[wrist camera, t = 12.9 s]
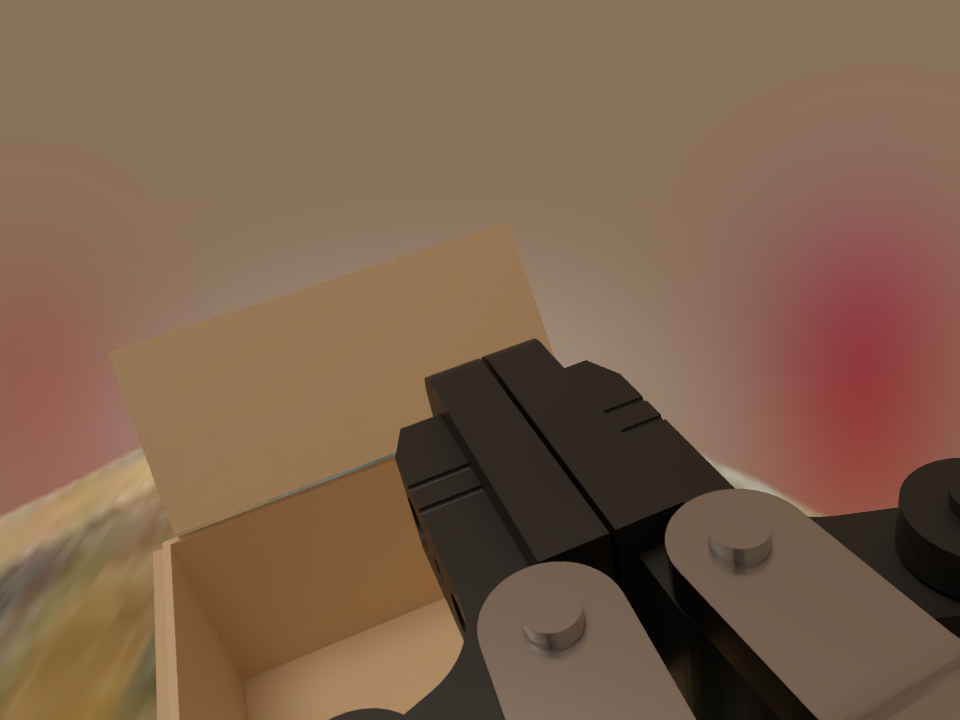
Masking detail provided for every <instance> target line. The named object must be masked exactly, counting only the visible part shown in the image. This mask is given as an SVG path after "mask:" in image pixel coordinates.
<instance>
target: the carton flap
mask: <svg viewBox="0 0 960 720" xmlns="http://www.w3.org/2000/svg"><path fill="white" fill-rule="evenodd" d="M533 338H535V339H537V340H539V341H540V342H541V343H542V344H543V345H544V346H545V347H546V349H547V350H548V351H549V352H550V353H551V354H552V355H553V352H552V349H551V346H550V343H549V340H548V337H547V334H546V332H545V329H544V326H543V323H542V320H541V317H540V314H539V311H538V308H537V306H536V302H535V300H534V297H533V294H532V291H531V288H530V285H529V282H528V279H527V276H526V273H525V271H524V268H523V265H522V262H521V259H520V256H519V253H518V250H517V247H516V244H515V242H514V239H513V236H512V233H511V230H510V227H509V224H508V223H505V224H502V225H499V226H496V227H493V228H490V229H487V230H483V231H480V232H477V233H474V234H471V235H468V236H465V237H462V238H459V239H456V240H453V241H450V242H446V243H443V244H440V245H437V246H434V247H431V248H428V249H425V250H422V251H419V252H416V253H413V254H409V255H406V256H404V257H400V258H397V259H394V260H391V261H388V262H385V263H382V264H379V265H376V266H373V267H369V268H366V269H363V270H360V271H357V272H354V273H351V274H348V275H345V276H342V277H339V278H336V279H332V280H329V281H326V282H323V283H320V284H317V285H314V286H311V287H308V288H305V289H302V290H299V291H295V292H293V293H289V294H286V295H283V296H280V297H277V298H274V299H271V300H268V301H265V302H262V303H258V304H255V305H252V306H249V307H246V308H243V309H240V310H237V311H234V312H231V313H228V314H225V315H221V316H218V317H215V318H212V319H209V320H206V321H203V322H200V323H197V324H194V325H191V326H188V327H185V328H182V329H178V330H175V331H173V332H169V333H166V334H163V335H160V336H157V337H154V338H151V339H148V340H144V341H141V342H138V343H135V344H132V345H129V346H126V347H123V348H120V349H117V350H114V351H111V352H108V355H109V357H110V360H111V363H112V366H113V368H114V371H115V374H116V377H117V379H118V382H119V385H120V387H121V390H122V393H123V395H124V398H125V401H126V404H127V407H128V409H129V412H130V415H131V417H132V420H133V423H134V426H135V428H136V431H137V434H138V437H139V440H140V442H141V445H142V448H143V450H144V453H145V456H146V459H147V461H148V464H149V467H150V470H151V472H152V475H153V478H154V481H155V483H156V486H157V489H158V492H159V494H160V497H161V500H162V503H163V505H164V508H165V511H166V514H167V516H168V519H169V522H170V524H171V527H172V530H173V533H174V535H175V534H177V533H180V532H183V531H185V530H188V529H191V528H193V527H196V526H199V525H202V524H204V523H207V522H210V521H212V520H215V519H218V518H220V517H223V516H226V515H229V514H231V513H234V512H237V511H239V510H242V509H245V508H247V507H250V506H253V505H255V504H258V503H261V502H264V501H266V500H269V499H272V498H274V497H277V496H280V495H282V494H285V493H288V492H290V491H293V490H296V489H299V488H301V487H304V486H307V485H309V484H312V483H315V482H317V481H320V480H323V479H325V478H328V477H331V476H334V475H336V474H339V473H342V472H344V471H347V470H350V469H352V468H355V467H358V466H360V465H363V464H366V463H369V462H371V461H374V460H377V459H379V458H382V457H385V456H387V455H390V454H393V453H395V452H396V451H397V445H398V439H399V434H400V429H401V428H404V427H407V426H410V425H412V424H415V423H418V422H420V421H423V420H426V419H429V418H431V417H433V414H432V411H431V407H430V403H429V400H428V396H427V392H426V387H425V377H428V376H431V375H433V374H436V373H439V372H442V371H445V370H447V369H450V368H453V367H456V366H459V365H461V364H464V363H467V362H470V361H472V360H475V359H481V358H482V357H483V356H486V355H489V354H491V353H494V352H497V351H500V350H503V349H505V348H508V347H511V346H514V345H517V344H519V343H522V342H525V341H528V340H531V339H533ZM553 356H554V355H553Z"/></svg>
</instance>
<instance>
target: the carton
mask: <svg viewBox="0 0 960 720" xmlns="http://www.w3.org/2000/svg"><path fill="white" fill-rule="evenodd" d="M153 568H154V607H155V646H156V686H157V720H329V719H331V718H333V717H335V716H338V715H340V714H343V713H346V712H349V711H354V710H358V709H367V708H380V709H388V710H392V711H396V712H399V713H401V714H403V715H404V714H405V713H406V712H407V711H409V710H410V709H411V708H412V707H413V706H415V705H416V704H417V703H418V702H419V701H421V700H422V699H423V698H424V697H425V696H427V695H428V694H429V693H430V692H431V691H432V690H433V689H434V688H435V687H437V686H438V685H439V684H440V683H441V682H442V680H443V679H444V678H445V677H446V676H447V674H448V673H449V672H450V671H451V669H452V667H453V666H454V664H455V662H456V661H457V659H458V656H459V654H460V652H461V649H462V647H463V643H464V640H463V638H462V636H461V634H460V631H459V629H458V627H457V624H456V622H455V620H454V618H453V615H452V613H451V611H450V608H449V606H448V603H447V601H446V599H445V597H444V595H443V592H442V590H441V588H440V586H439V583H438V581H437V578H436V577H435V574H434V572H433V570H432V567H431V565H430V563H429V561H428V558H427V556H426V554H425V551H424V549H423V547H422V544H421V540H420V537H419V534H418V531H417V527H416V524H415V521H414V518H413V515H412V511H411V508H410V505H409V502H408V499H407V495H406V492H405V489H404V486H403V482H402V479H401V476H400V473H399V470H398V466H397V463H396V460H395V456H394V457H391V458H388V459H386V460H383V461H380V462H378V463H375V464H372V465H370V466H367V467H364V468H362V469H359V470H356V471H353V472H351V473H348V474H345V475H343V476H340V477H337V478H335V479H332V480H329V481H327V482H324V483H321V484H319V485H316V486H313V487H310V488H308V489H305V490H302V491H300V492H297V493H294V494H292V495H289V496H286V497H284V498H281V499H278V500H276V501H273V502H270V503H267V504H265V505H262V506H259V507H257V508H254V509H251V510H249V511H246V512H243V513H241V514H238V515H235V516H233V517H230V518H227V519H225V520H222V521H219V522H216V523H214V524H211V525H208V526H206V527H203V528H200V529H198V530H195V531H192V532H190V533H187V534H184V535H182V536H179V537H176V538H173V539H171V540H168V541H165V542H163V549H161V550H158V551H155V552H153Z"/></svg>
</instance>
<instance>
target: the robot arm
mask: <svg viewBox="0 0 960 720" xmlns="http://www.w3.org/2000/svg"><path fill="white" fill-rule="evenodd" d="M425 387H426V392H427V396H428V400H429V403H430V407H431V411H432V414H433V417H431V418H429V419H426V420H423V421H420V422H418V423H415V424H412V425H410V426H407V427H404V428H401V429H400V434H399V439H398V445H397V451H396V456H395V460H396V463H397V466H398V470H399V473H400V476H401V479H402V482H403V486H404V489H405V492H406V495H407V499H408V502H409V505H410V508H411V511H412V515H413V518H414V521H415V524H416V527H417V531H418V534H419V537H420V540H421V544H422V547H423V549H424V551H425V554H426V556H427V558H428V561H429V563H430V565H431V567H432V570H433V572H434V574H435V577H436V578H437V581H438V583H439V586H440V588H441V590H442V592H443V595H444V597H445V599H446V601H447V603H448V606H449V608H450V611H451V613H452V615H453V618H454V620H455V622H456V624H457V627H458V629H459V631H460V634H461V636H462V638H463V640H464V643H463V647H462V649H461V652H460V654H459V656H458V659H457V661H456V662H455V664H454V666H453V667H452V669H451V671H450V672H449V673H448V674H447V676H446V677H445V678H444V679H443V680H442V682H441V683H440V684H439V685H438V686H437V687H435V688H434V689H433V690H432V691H431V692H430V693H429V694H428V695H427V696H425V697H424V698H423V699H422V700H421V701H419V702H418V703H417V704H416V705H415V706H413V707H412V708H411V709H410V710H409V711H407V712H406V713H405V714H404V715H403V714H401V713H399V712H396V711H392V710H388V709H380V708H367V709H358V710H354V711H349V712H346V713H343V714H340V715H338V716H335V717H333V718H331V719H329V720H960V458H950V459H944V460H939V461H935V462H932V463H929V464H926V465H924V466H922V467H920V468H918V469H916V470H915V471H914V472H912V473H911V474H910V475H909V476H908V477H907V478H906V479H905V481H904V482H903V484H902V487H901V489H900V494H899V502H898V508H891V509H884V510H876V511H869V512H861V513H854V514H846V515H839V516H829V517H808V516H807V515H805V514H804V513H803V512H802V511H800V510H799V509H798V508H796V507H795V506H793V505H792V504H791V503H789V502H787V501H785V500H783V499H781V498H779V497H777V496H774V495H771V494H768V493H765V492H760V491H756V490H747V489H735V488H734V487H733V486H732V485H731V484H730V483H729V482H728V481H727V480H726V479H725V478H724V477H723V476H722V475H721V474H720V473H719V472H718V471H717V470H716V469H715V468H714V467H713V466H712V465H711V464H710V463H709V462H708V461H707V460H706V459H705V458H704V457H703V456H702V455H701V454H700V453H699V452H698V451H697V450H696V449H695V448H694V447H693V446H692V445H691V444H690V443H689V442H688V441H687V440H686V439H685V438H684V437H683V436H682V435H680V433H679V432H678V431H676V429H675V428H674V427H672V425H671V424H670V423H669V422H667V420H663V419H662V418H661V414H660V413H659V412H657V411H656V409H654V407H653V406H652V405H650V403H649V402H648V401H644V400H643V398H642V395H640V393H639V392H638V391H637V390H636V389H634V387H632V386H631V384H629V382H628V381H627V380H625V379H624V378H623V377H622V376H621V375H620V374H619V373H616V372H614V371H611V370H609V369H606V368H604V367H601V366H599V365H597V364H594V363H592V362H589V361H583V362H580V363H577V364H575V365H572V366H569V367H567V368H563V366H562V365H561V364H560V363H559V362H558V361H557V360H556V359H555V358H554V356H553V355H552V354H551V353H550V352H549V351H548V350H547V349H546V347H545V346H544V345H543V344H542V343H541V342H540V341H539V340H537V339H535V338H533V339H531V340H528V341H525V342H522V343H519V344H517V345H514V346H511V347H508V348H505V349H503V350H500V351H497V352H494V353H491V354H489V355H486V356H483V357H482V358H481V359H475V360H472V361H470V362H467V363H464V364H461V365H459V366H456V367H453V368H450V369H447V370H445V371H442V372H439V373H436V374H433V375H431V376H428V377H425Z"/></svg>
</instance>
